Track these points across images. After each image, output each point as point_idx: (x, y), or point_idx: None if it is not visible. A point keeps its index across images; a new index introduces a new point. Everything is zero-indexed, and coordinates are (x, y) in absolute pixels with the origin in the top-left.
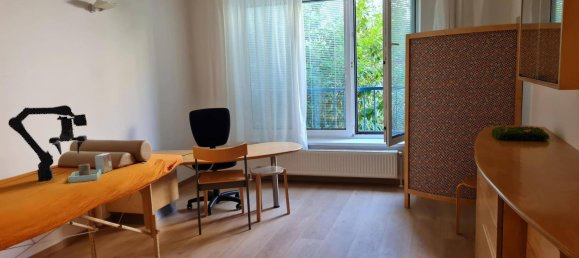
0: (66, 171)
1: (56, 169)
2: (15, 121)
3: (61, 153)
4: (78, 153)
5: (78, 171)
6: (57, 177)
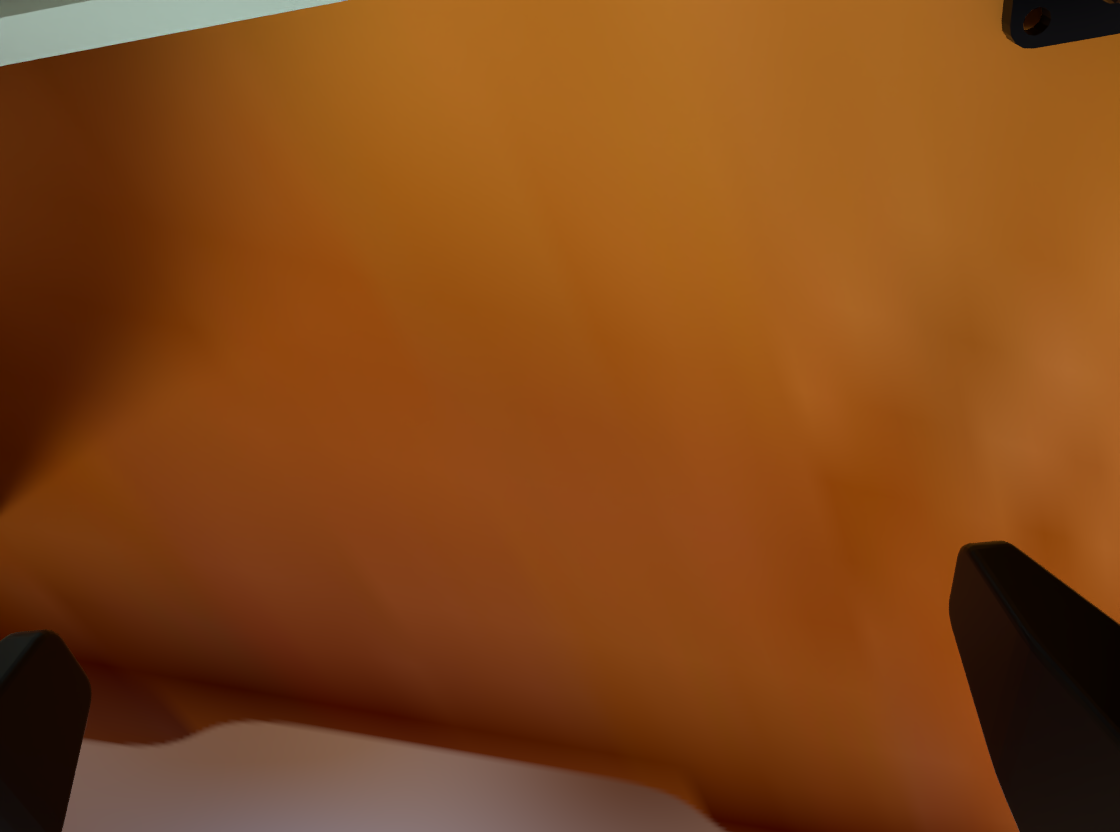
0: (815, 610)
1: None
2: None
3: (966, 667)
4: (12, 635)
5: (191, 5)
6: (885, 66)
